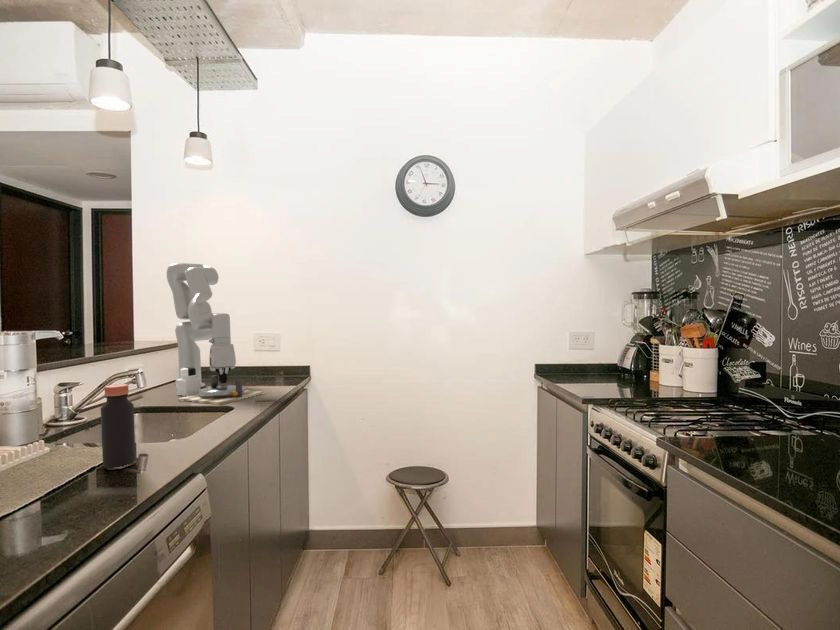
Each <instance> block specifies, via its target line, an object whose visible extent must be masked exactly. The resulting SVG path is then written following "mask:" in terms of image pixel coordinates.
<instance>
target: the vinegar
mask: <svg viewBox="0 0 840 630" xmlns="http://www.w3.org/2000/svg"><path fill="white" fill-rule="evenodd" d="M129 393H130V392H129V384H128V383H119V384H117V383H116V384H110V385H105V386H104V396H105V399H106V402H104V404H103V405H102V406H101V407H100V423H101V424H100V425H101V426H100V427H101V428H100V429H101V449H102V450H101V451H102V467H103V466H104V467H106V468H114V467H120V466H124V465H127V464H130V463H133V462H134V461H135V460H137V459H136V436H135V408H134V407H135V406H134V403H133V402H132V401H130V400H129V399H128V396H129Z"/></svg>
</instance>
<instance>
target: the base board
mask: <svg viewBox="0 0 840 630" xmlns="http://www.w3.org/2000/svg"><path fill="white" fill-rule="evenodd" d="M235 385H236V391H237V392H238V395H236V396H231V395H229V396H219V397H204V396H200V395H199V394H195V395H191V396H186V397H185V396H181V397H178V398H177V401H178V400H184V401H183V402H185V401H192V402H191V403H195V402H199V403H198V404H206V405H216V406H223V405H226V404H229V403H233V402H237V400H238V401H241V399H242V400H245V399H244V398H246V399H249V398H248V397H250V398H253V397H257V396H260V395H259V394H261V395H264V394H265V391H261V390H252V389H251V390H249V389H244V392H242V386H243V379H236V380H235ZM263 393H264V394H263ZM256 395H257V396H256ZM252 396H253V397H252Z"/></svg>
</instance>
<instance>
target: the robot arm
mask: <svg viewBox="0 0 840 630" xmlns="http://www.w3.org/2000/svg"><path fill="white" fill-rule="evenodd" d="M166 269H167V270H166V279H167V282H168V283H167V284H168V285H169V287H170V290H171V292H172V298H173V299H172V300H173V304H174V305H173V306H174V310H175V314H176V317H177V318H178V319H179V320H189V321H183V322H180V323H178V324H177V325H176V327H175V329H174V331H175V337H176V341H177V342H176V343H177V349H178V351H177V353H178V355H177V356H178V378H177V379H181V373H180V370H181V369H182V368H187V367H193V368H195V369H196V376H195V378H200V382H201V388H203V387H205V386H206V384H205V382H202V366H201V365H202V364H201V362H202V361H201V350H200V347H199V345H198V344H197V343H196V342H199V341H208V343H209V344H211V345H210V349H209V359H208V361H209V363H208V364H209V371H211V372H215V373H217V375H218V382H219V383H220V384H227V381H228V374H229V372H230V370H233V369H235V368H236V364H237V360H236V351H235V348H234V347H235V346H234V344H233V343H232V340H231V339H232V337H231V335H232V334H231V317H230V314H228V313H224V312H223V313H221V312H220V313H217V312H215V313H214V312H213V311H212V307H211V304H210V303H209V300H210V299H211V298H212V296H213V291H212V288H211V286H214V285H217V284H218V282H219V273H218V271H217V270H216V269H215V268H214V267H212V266H210V265H207V264H201V263H191V262H190V263H188V262H187V263H186V262H176V263H171V264H170V265H168V267H167V268H166ZM185 281H186V282H185ZM177 379H175V380H174V381H175V383H176V380H177Z"/></svg>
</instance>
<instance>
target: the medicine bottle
mask: <svg viewBox="0 0 840 630" xmlns="http://www.w3.org/2000/svg"><path fill="white" fill-rule="evenodd" d="M180 373H181V379H178V378H177V380H176V379H175V380H176V382H175V384H176V385H175V389H176V395H177V396H178V395H182V396H181V397H185V396H191V395H195V394H199V390H201V389H202V387H201V383H202V381H201V382H200V378H195V376H196V369H195V368H193V367H187V368H182V369H181V370H180Z"/></svg>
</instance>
